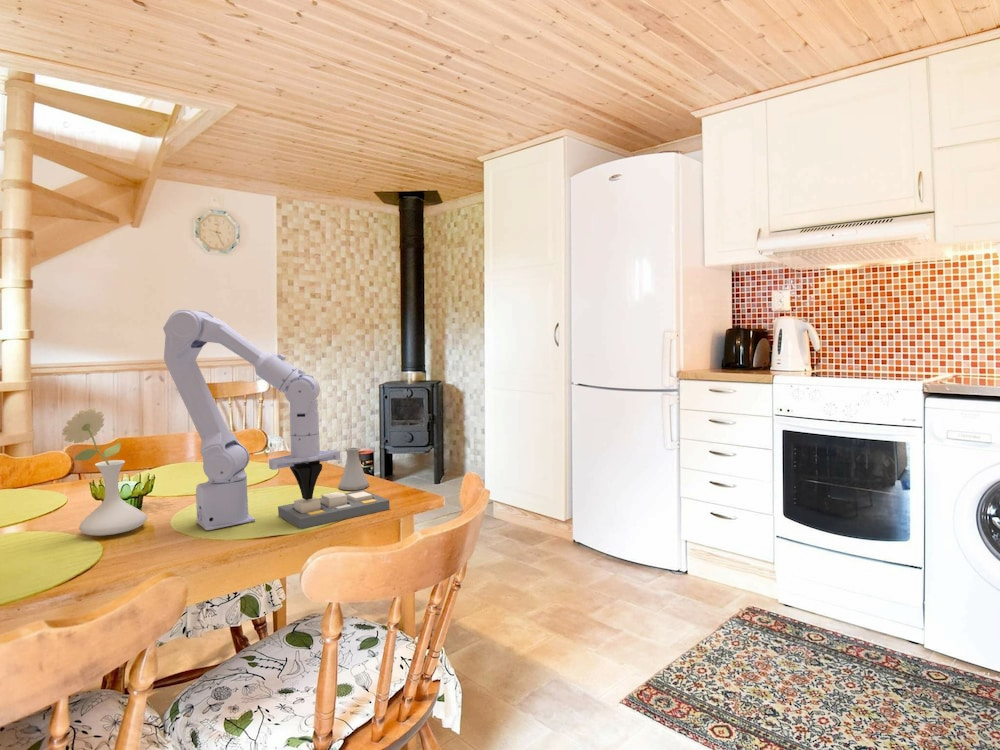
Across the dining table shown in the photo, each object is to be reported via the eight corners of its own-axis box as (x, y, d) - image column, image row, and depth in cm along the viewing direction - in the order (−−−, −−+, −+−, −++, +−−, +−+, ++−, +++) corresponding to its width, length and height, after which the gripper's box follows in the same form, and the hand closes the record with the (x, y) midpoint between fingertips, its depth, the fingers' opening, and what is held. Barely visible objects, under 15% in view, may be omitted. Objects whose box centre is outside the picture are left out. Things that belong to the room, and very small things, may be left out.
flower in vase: (134, 519, 128) (127, 401, 127) (156, 529, 121) (150, 405, 119) (60, 535, 118) (52, 408, 117) (80, 547, 111) (72, 412, 109)
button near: (302, 513, 124) (301, 504, 124) (294, 509, 127) (294, 500, 127) (320, 509, 127) (320, 500, 127) (312, 505, 130) (312, 496, 130)
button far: (355, 507, 132) (355, 498, 132) (347, 503, 135) (347, 494, 135) (372, 503, 135) (372, 494, 134) (363, 500, 138) (363, 491, 137)
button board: (300, 529, 120) (300, 518, 120) (278, 515, 129) (278, 505, 129) (389, 509, 133) (389, 499, 133) (363, 498, 142) (363, 489, 142)
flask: (332, 489, 151) (331, 449, 150) (352, 483, 157) (351, 444, 157) (355, 492, 147) (354, 452, 147) (374, 485, 154) (373, 447, 153)
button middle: (329, 507, 128) (329, 498, 128) (321, 504, 131) (321, 494, 131) (347, 504, 131) (347, 495, 130) (339, 500, 134) (338, 491, 134)
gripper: (276, 440, 118) (279, 509, 119) (345, 432, 128) (348, 495, 128) (264, 436, 124) (267, 501, 125) (331, 428, 133) (333, 489, 134)
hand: (307, 498), depth 127 cm, fingers closed
